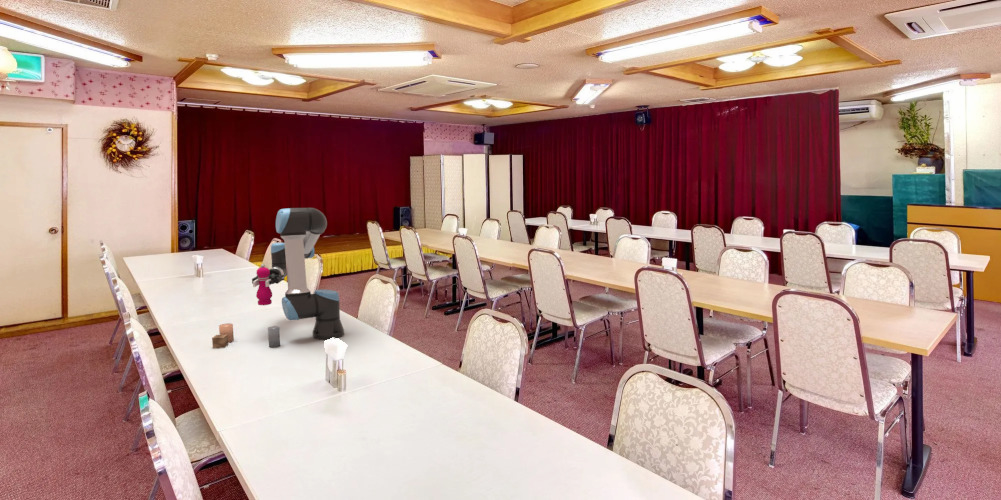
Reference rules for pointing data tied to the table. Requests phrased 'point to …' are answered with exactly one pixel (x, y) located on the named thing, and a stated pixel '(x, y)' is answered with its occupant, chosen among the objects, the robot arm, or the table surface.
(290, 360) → the table surface
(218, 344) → the walnut block
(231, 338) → the peach round cylinder
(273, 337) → the charcoal salt shaker
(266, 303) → the pepper mill
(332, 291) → the robot arm
